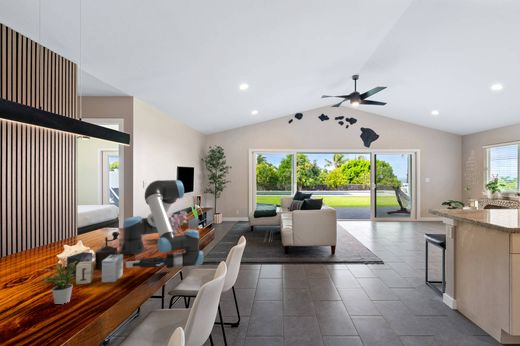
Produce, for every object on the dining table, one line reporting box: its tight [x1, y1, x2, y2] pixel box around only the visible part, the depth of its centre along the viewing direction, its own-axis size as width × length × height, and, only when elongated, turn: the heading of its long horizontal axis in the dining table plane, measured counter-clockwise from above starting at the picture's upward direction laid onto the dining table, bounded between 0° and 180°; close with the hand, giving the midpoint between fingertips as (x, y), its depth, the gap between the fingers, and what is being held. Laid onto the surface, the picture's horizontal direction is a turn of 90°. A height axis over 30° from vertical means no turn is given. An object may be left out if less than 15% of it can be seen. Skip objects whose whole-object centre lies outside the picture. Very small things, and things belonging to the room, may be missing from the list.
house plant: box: [39, 261, 78, 305], centre depth 119 cm, size 14×14×16 cm
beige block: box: [75, 260, 94, 285], centre depth 141 cm, size 6×6×9 cm
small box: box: [66, 251, 93, 279], centre depth 150 cm, size 11×6×10 cm, turn 168°
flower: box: [169, 208, 188, 236], centre depth 232 cm, size 20×22×25 cm
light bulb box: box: [101, 253, 124, 283], centre depth 145 cm, size 11×7×11 cm, turn 8°
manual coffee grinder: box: [94, 231, 120, 270], centre depth 167 cm, size 16×11×18 cm
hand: (126, 264), depth 147 cm, fingers closed
